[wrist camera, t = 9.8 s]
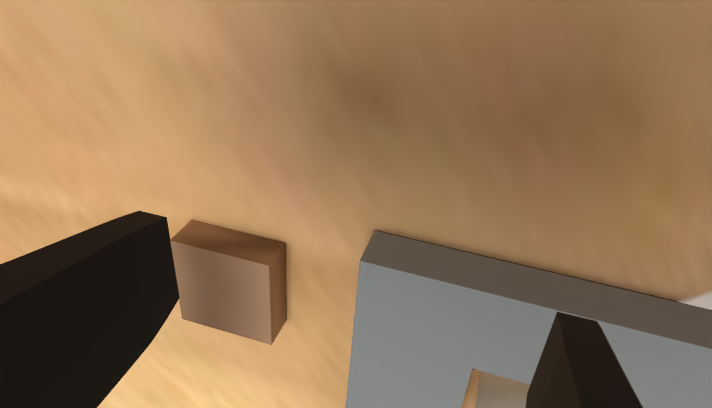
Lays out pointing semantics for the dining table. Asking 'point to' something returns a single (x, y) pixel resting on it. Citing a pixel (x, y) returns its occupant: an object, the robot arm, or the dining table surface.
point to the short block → (231, 280)
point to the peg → (500, 392)
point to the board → (505, 328)
